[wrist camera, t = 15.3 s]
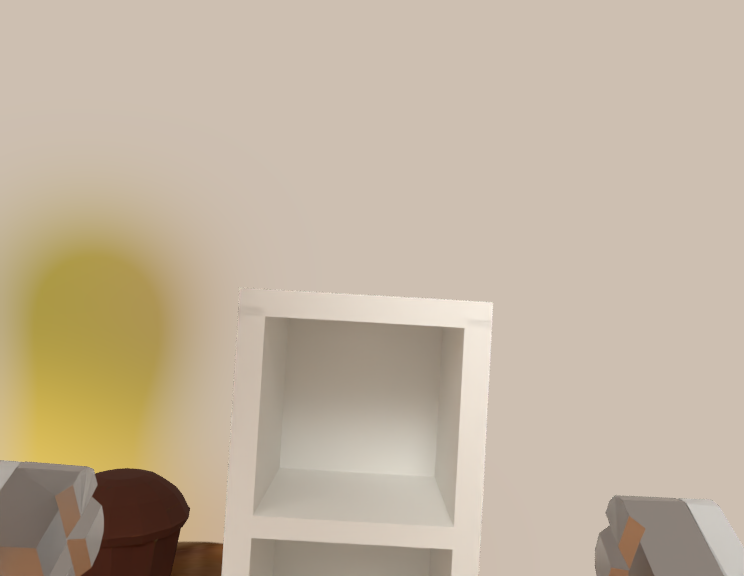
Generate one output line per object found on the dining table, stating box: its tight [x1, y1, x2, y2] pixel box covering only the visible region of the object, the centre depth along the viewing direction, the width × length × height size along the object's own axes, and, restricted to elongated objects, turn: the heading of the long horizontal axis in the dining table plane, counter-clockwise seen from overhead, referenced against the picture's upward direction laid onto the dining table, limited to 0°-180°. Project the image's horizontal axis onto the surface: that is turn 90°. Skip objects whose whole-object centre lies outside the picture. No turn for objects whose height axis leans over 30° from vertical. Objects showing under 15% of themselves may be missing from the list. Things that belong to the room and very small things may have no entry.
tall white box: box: [221, 288, 493, 576], centre depth 41 cm, size 12×14×26 cm
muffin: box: [81, 468, 190, 576], centre depth 55 cm, size 12×11×10 cm
